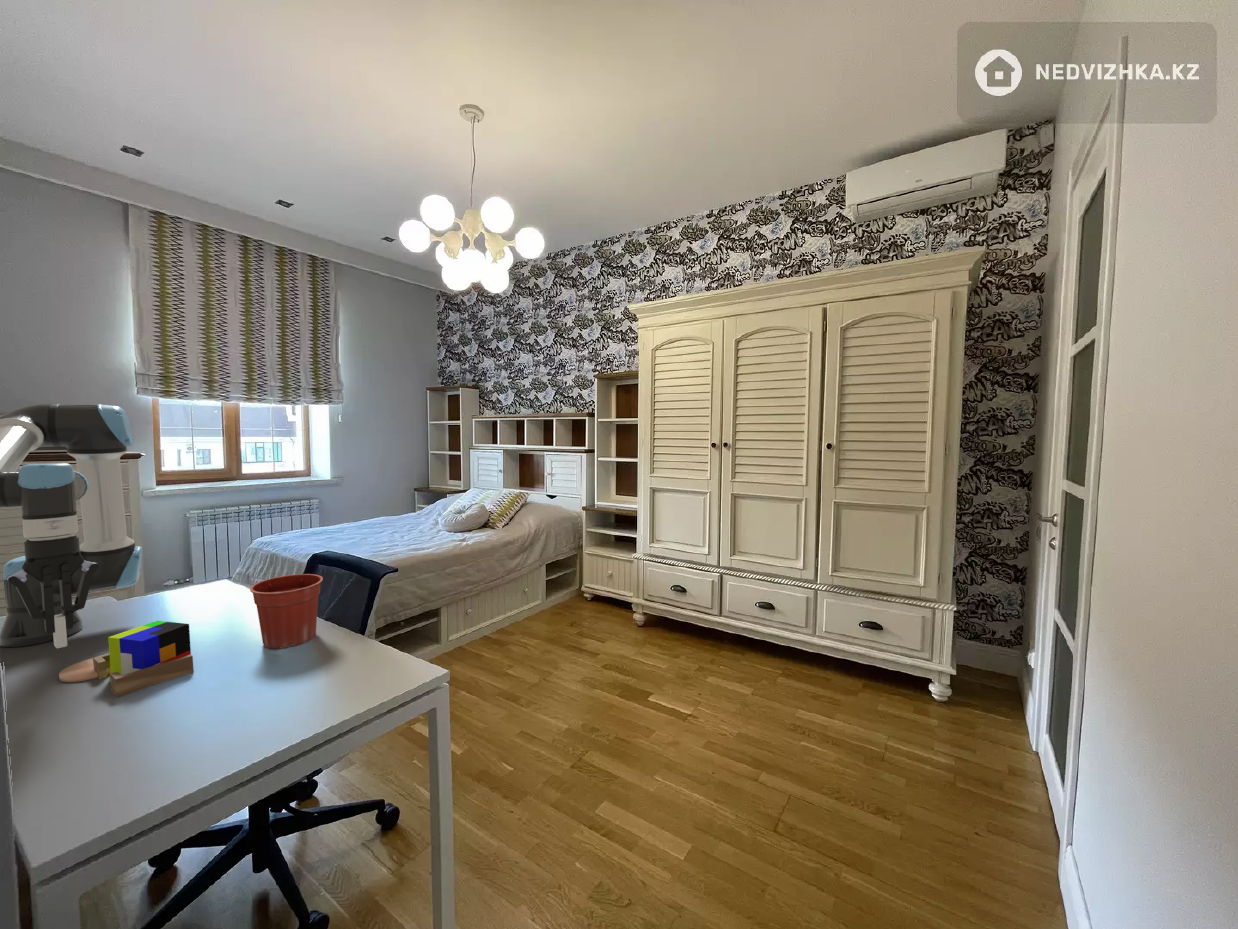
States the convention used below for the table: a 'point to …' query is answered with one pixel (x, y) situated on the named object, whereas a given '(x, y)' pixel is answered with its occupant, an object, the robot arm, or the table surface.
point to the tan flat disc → (80, 672)
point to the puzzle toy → (148, 646)
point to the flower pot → (287, 609)
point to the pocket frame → (142, 674)
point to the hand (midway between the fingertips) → (60, 645)
